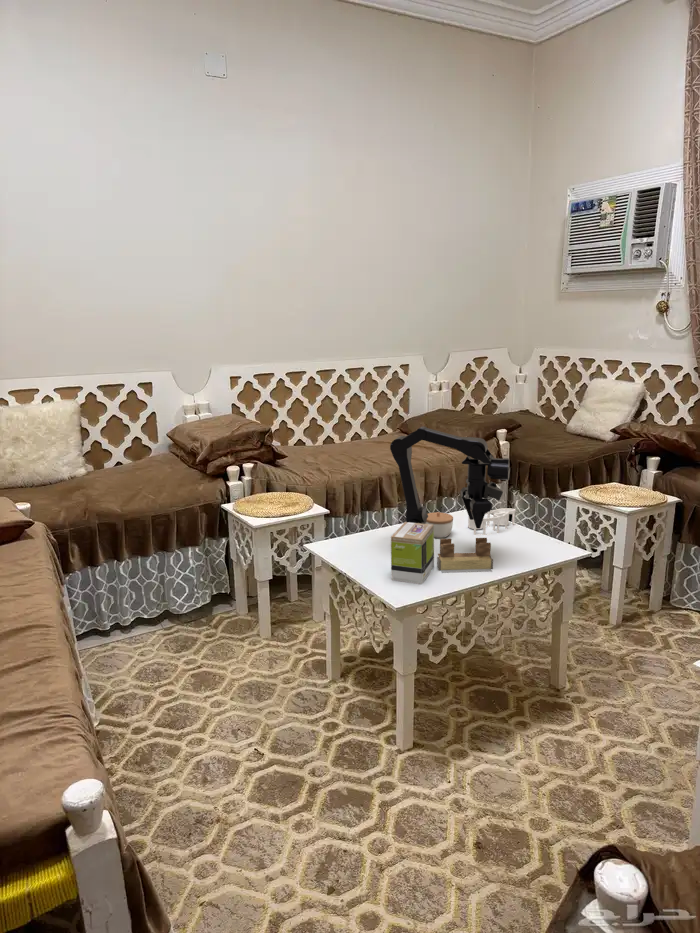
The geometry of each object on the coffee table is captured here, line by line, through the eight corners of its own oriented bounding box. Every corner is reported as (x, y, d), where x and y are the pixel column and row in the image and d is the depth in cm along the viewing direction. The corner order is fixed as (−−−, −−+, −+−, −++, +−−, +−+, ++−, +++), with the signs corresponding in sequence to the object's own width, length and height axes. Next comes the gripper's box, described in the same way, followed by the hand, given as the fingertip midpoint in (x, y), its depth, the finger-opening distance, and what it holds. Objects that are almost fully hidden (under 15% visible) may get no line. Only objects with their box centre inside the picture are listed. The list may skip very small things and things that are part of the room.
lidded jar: (424, 541, 232) (424, 516, 230) (422, 532, 242) (422, 508, 240) (454, 542, 232) (455, 516, 229) (450, 532, 242) (451, 508, 240)
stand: (440, 562, 213) (441, 544, 211) (437, 555, 218) (438, 538, 217) (492, 561, 213) (493, 543, 212) (487, 554, 219) (488, 537, 218)
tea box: (404, 563, 212) (404, 520, 209) (434, 567, 208) (435, 523, 205) (390, 581, 198) (390, 535, 195) (422, 585, 195) (423, 538, 191)
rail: (438, 570, 205) (439, 560, 204) (436, 566, 208) (437, 556, 207) (492, 569, 206) (493, 559, 205) (489, 565, 209) (490, 555, 208)
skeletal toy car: (506, 523, 252) (506, 505, 250) (523, 532, 242) (524, 513, 240) (461, 530, 245) (461, 511, 243) (477, 539, 235) (477, 519, 233)
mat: (441, 573, 203) (441, 572, 203) (437, 565, 210) (437, 564, 210) (492, 572, 204) (492, 571, 204) (486, 564, 211) (486, 562, 211)
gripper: (509, 484, 201) (507, 532, 205) (493, 470, 219) (491, 514, 223) (473, 485, 200) (472, 533, 204) (460, 471, 219) (459, 515, 222)
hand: (474, 523), depth 213 cm, fingers open, 9 cm apart
